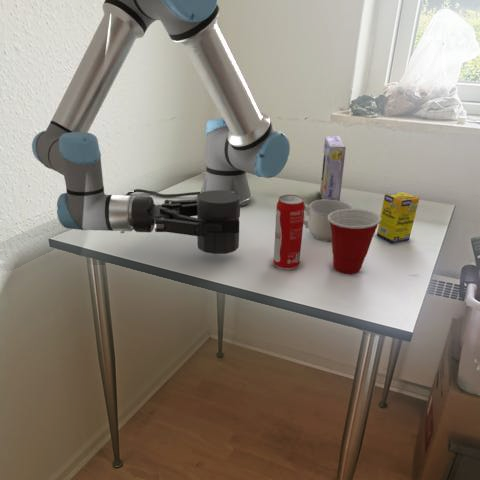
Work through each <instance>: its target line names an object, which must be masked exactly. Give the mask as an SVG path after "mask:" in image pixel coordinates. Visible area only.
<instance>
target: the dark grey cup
mask: <svg viewBox="0 0 480 480" xmlns="http://www.w3.org/2000/svg"><path fill="white" fill-rule="evenodd" d="M196 200H197V216H196V218H198V219H202V220H206V222H207V218H216V219H239V224H240V217H239V206H240V197H239V195H237V194H236V193H233V192H229V191H219V190H215V191H206V192H202V193H200V194H198V195H196ZM240 207H241V206H240ZM196 239H197V241H196V243H197V244H196V245H197V249H198V250H200V251H202V252H203V253H207V254H213V255H226V254H230V253H233V252H235V251H237V250H238V249H239V248H240V231H239V232H238V233H217V232H207V231H206V236H205V237H202V236H196Z"/></svg>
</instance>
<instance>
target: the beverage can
mask: <svg viewBox="0 0 480 480" xmlns="http://www.w3.org/2000/svg"><path fill="white" fill-rule="evenodd" d="M305 205H306V204H305V200H304V197H303V196H300V195H296V194H283V195H281V196H279V198H278V200H277V203H276V209H275V210H276V211H275V212H276V213H275V226H274V227H275V229H274V242H273V243H274V244H273V258H272V259H273V261H272V262H273V264H274V266H275V267H276V268H278V269H281V270H293V269H297V268H298V267H299V265H300V263H301V252H302V241H303V231H304V224H303V222H304V220H305V212H306V210H305Z"/></svg>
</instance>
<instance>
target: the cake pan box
mask: <svg viewBox="0 0 480 480" xmlns="http://www.w3.org/2000/svg"><path fill="white" fill-rule="evenodd" d="M346 149H347V148H346V146H345V145H344V141H343V139H341V137H340V135H333V136H332V135H331V136H329V135H328V136H327V135H326V136H325V137H324V144H323V159H322V172H321V179H320V188H319V193H320V194H319V195H320V197H321V200H322V199H327V200H328V199H329V200H337V201H341V193H342V183H343V174H344V166H345V160H346V159H345V158H346Z"/></svg>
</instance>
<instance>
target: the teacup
mask: <svg viewBox="0 0 480 480" xmlns="http://www.w3.org/2000/svg"><path fill="white" fill-rule="evenodd" d="M343 209H354V206H352V205H351V204H350V203H347V202H344V201H341V200H340V201H337V200H329V199H328V200H327V199H322V198H321V199H316V200H313V201H311V202H310V204H309V206H308V205H307V204H305V212H306V215H307V220H305V219H304V222H303V226H304V227H305V228H306V229H308V231H309V232H310V233H311V234H312V235H313V237H315V238H316V239H317V240H319V241H323V242H324V241H325V242H332V231H331V225H330V222H329V221H328V215H329V214H330V213H331V212H334V211H337V210H343Z"/></svg>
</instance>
